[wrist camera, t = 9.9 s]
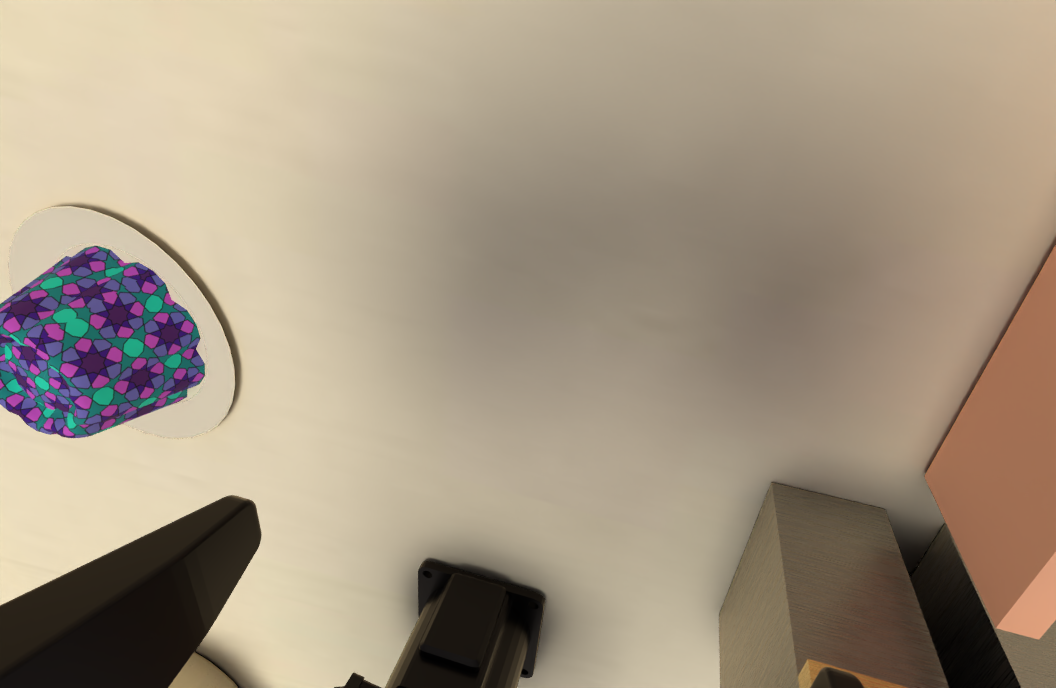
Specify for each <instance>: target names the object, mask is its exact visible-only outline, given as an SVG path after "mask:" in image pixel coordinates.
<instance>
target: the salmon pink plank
mask: <svg viewBox="0 0 1056 688" xmlns="http://www.w3.org/2000/svg"><path fill="white" fill-rule="evenodd" d="M924 477H925V479H926V481H927V484H928V486H929V488H930V490H931V492H932V494H933V496H934V498H935V501H936V503H937V505H938V507H939V509H940V511H941V513H942V515H943V518H944V520H945V522H946V524H947V526H948V528H949V530H950V532H951V535H952V537H953V539H954V541H955V543H956V545H957V547H958V549H959V552H960V554H961V556H962V558H963V560H964V562H965V564H966V566H967V569H968V571H969V573H970V575H971V577H972V579H973V581H974V583H975V586H976V588H977V590H978V592H979V594H980V596H981V598H982V600H983V603H984V605H985V607H986V609H987V611H988V613H989V615H990V617H991V620H992V622H993V624H994V626H995V628H997V629H1000V630H1004V631H1008V632H1012V633H1015V634H1019V635H1023V636H1027V637H1031V638H1034V639H1038V640H1039V639H1040V638H1041V637H1042V635H1043V634H1044V633H1045V632H1046V631H1047V630H1048V628H1049V627H1050V626H1051V625H1052V624H1053V623H1054V622H1055V620H1056V245H1055V247H1054V248H1053V250H1052V252H1051V254H1050V255H1049V257H1048V259H1047V261H1046V262H1045V264H1044V266H1043V268H1042V269H1041V271H1040V273H1039V275H1038V276H1037V278H1036V280H1035V282H1034V284H1033V285H1032V287H1031V289H1030V291H1029V292H1028V294H1027V296H1026V298H1025V299H1024V301H1023V303H1022V305H1021V306H1020V308H1019V310H1018V312H1017V313H1016V315H1015V317H1014V319H1013V321H1012V322H1011V324H1010V326H1009V328H1008V329H1007V331H1006V333H1005V335H1004V336H1003V338H1002V340H1001V342H1000V343H999V345H998V347H997V349H996V350H995V352H994V354H993V356H992V358H991V359H990V361H989V363H988V365H987V366H986V368H985V370H984V372H983V373H982V375H981V377H980V379H979V380H978V382H977V384H976V386H975V387H974V389H973V391H972V393H971V395H970V396H969V398H968V400H967V402H966V403H965V405H964V407H963V409H962V410H961V412H960V414H959V416H958V417H957V419H956V421H955V423H954V424H953V426H952V428H951V430H950V432H949V433H948V435H947V437H946V439H945V440H944V442H943V444H942V446H941V447H940V449H939V451H938V453H937V454H936V456H935V458H934V460H933V461H932V463H931V465H930V467H929V469H928V470H927V472H926V474H925V476H924Z"/></svg>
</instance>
